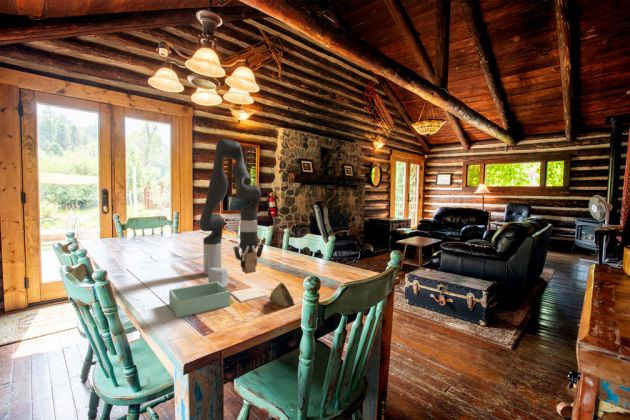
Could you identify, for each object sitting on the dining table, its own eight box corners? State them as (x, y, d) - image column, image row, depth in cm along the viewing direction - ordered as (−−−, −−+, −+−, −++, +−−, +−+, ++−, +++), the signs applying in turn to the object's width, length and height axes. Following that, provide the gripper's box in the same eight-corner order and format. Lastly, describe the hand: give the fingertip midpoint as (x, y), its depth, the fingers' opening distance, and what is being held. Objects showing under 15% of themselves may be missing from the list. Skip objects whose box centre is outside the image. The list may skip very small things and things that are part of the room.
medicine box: (227, 286, 140) (227, 268, 139) (221, 289, 135) (221, 271, 135) (214, 284, 142) (214, 267, 141) (208, 286, 138) (208, 269, 137)
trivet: (230, 293, 130) (230, 292, 130) (255, 288, 137) (255, 287, 137) (240, 302, 121) (240, 300, 121) (266, 296, 128) (266, 295, 128)
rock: (262, 296, 122) (270, 301, 113) (273, 278, 125) (281, 282, 116) (281, 307, 126) (290, 313, 117) (292, 290, 129) (301, 295, 120)
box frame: (169, 304, 117) (169, 289, 117) (218, 294, 129) (218, 281, 128) (176, 318, 105) (176, 302, 105) (230, 305, 117) (230, 291, 116)
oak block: (242, 271, 129) (242, 251, 128) (251, 269, 131) (251, 250, 131) (246, 273, 125) (246, 253, 124) (255, 272, 128) (255, 252, 127)
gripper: (259, 227, 134) (259, 263, 135) (230, 230, 126) (230, 268, 127) (267, 230, 128) (266, 267, 129) (236, 232, 120) (236, 272, 121)
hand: (248, 267), depth 128 cm, fingers closed on oak block, 4 cm apart
